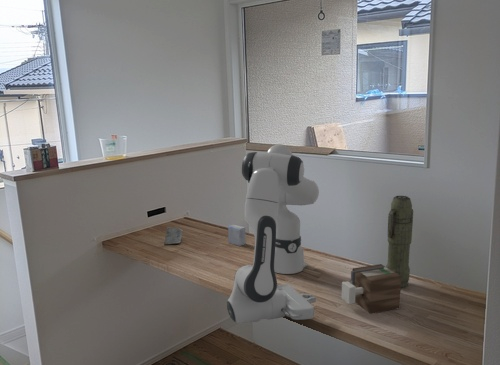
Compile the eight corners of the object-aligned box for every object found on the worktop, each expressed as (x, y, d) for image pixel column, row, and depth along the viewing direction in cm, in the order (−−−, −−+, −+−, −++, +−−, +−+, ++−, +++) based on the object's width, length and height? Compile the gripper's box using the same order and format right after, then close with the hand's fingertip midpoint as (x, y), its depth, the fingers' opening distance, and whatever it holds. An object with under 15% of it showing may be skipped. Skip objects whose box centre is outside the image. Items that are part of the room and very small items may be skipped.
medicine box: (245, 244, 236) (245, 227, 235) (239, 246, 233) (239, 229, 231) (234, 240, 242) (234, 224, 240) (228, 243, 238) (227, 226, 236)
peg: (341, 298, 169) (342, 269, 167) (380, 291, 175) (381, 264, 173) (348, 304, 165) (350, 275, 163) (388, 297, 170) (390, 269, 168)
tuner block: (351, 299, 175) (352, 267, 173) (379, 294, 179) (381, 263, 177) (369, 313, 164) (371, 280, 162) (399, 308, 168) (401, 275, 166)
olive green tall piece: (415, 283, 189) (421, 196, 182) (397, 291, 182) (402, 201, 175) (396, 276, 196) (401, 192, 189) (378, 284, 188) (382, 197, 181)
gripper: (289, 308, 148) (329, 301, 152) (265, 283, 167) (301, 278, 171) (289, 327, 149) (328, 320, 153) (265, 300, 168) (301, 294, 172)
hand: (314, 297), depth 162 cm, fingers closed
